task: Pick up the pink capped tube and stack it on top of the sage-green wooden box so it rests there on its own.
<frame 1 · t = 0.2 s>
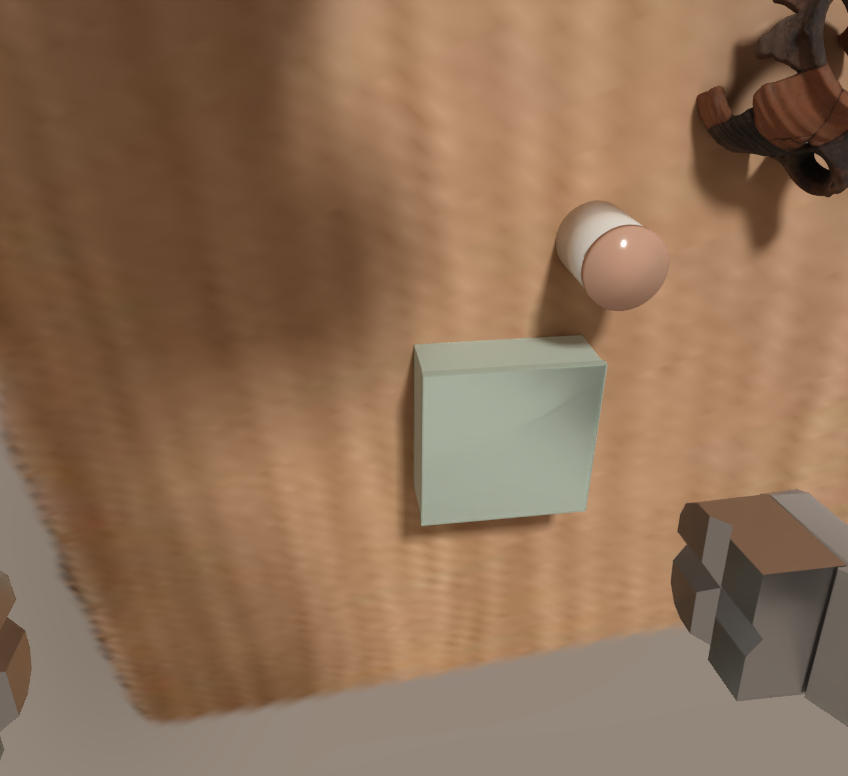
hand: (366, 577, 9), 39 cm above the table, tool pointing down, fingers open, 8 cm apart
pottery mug: (773, 89, 46), on the table
sage box: (493, 410, 55), on the table
pink capped tube: (592, 238, 49), on the table
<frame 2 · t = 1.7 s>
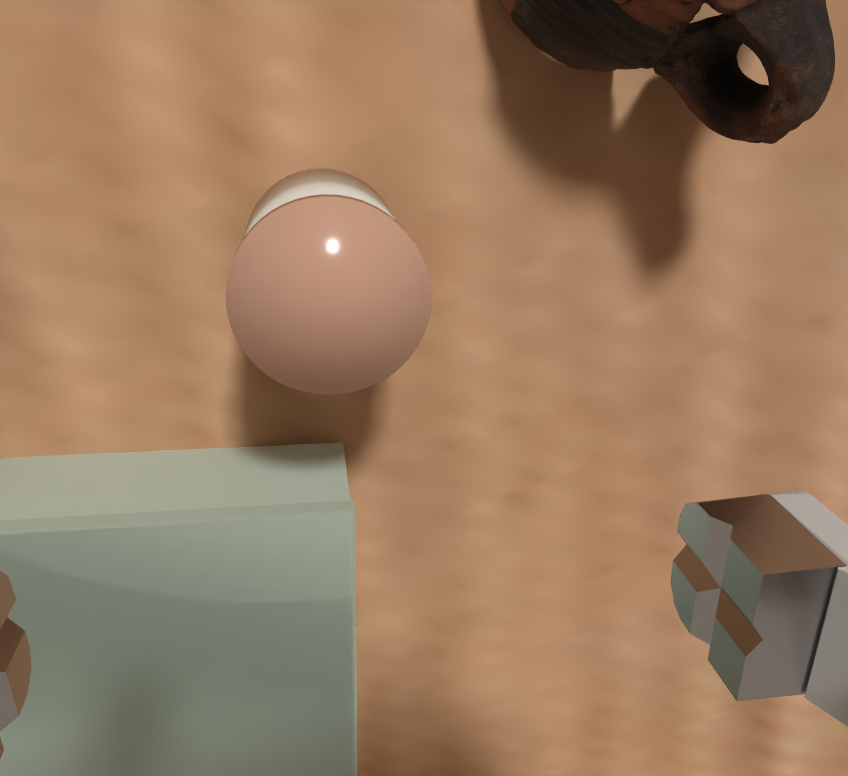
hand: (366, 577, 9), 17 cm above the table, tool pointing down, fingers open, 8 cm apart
sage box: (191, 581, 29), on the table
pink capped tube: (323, 247, 24), on the table
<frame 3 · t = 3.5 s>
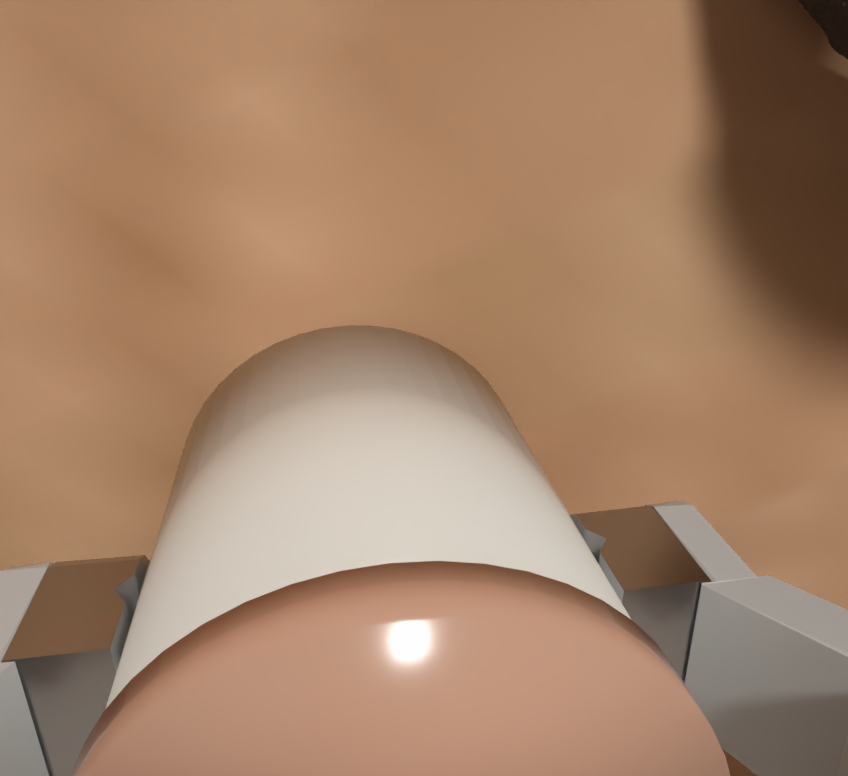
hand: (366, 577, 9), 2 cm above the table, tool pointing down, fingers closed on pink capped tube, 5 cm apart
pink capped tube: (355, 485, 11), on the table, touching gripper
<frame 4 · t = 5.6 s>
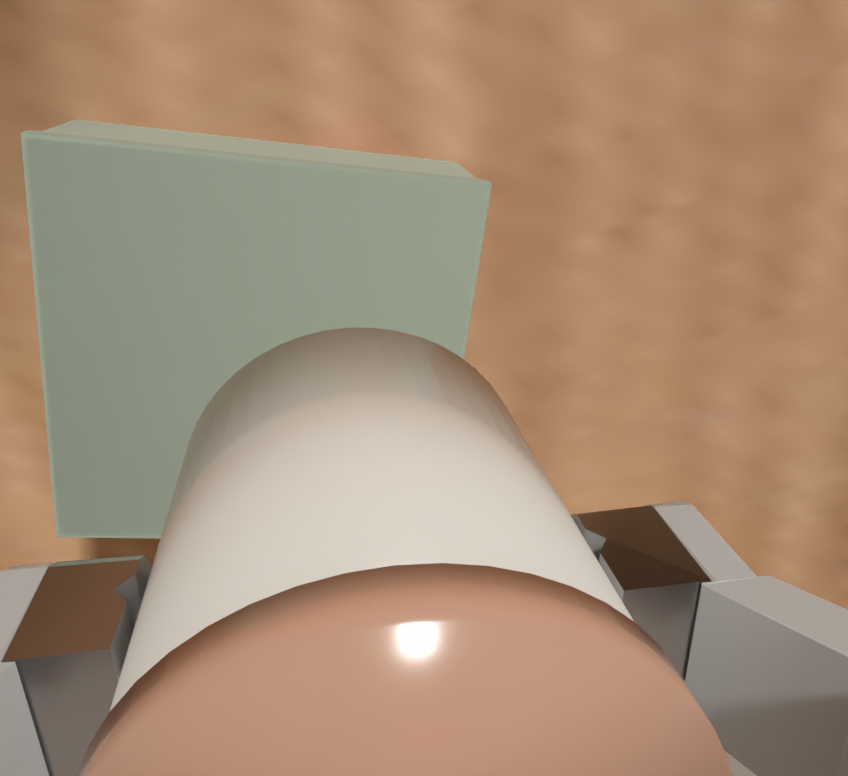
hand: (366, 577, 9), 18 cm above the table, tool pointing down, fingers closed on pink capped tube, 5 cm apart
sage box: (267, 314, 27), on the table
pink capped tube: (357, 486, 11), point 16 cm above the table, touching gripper
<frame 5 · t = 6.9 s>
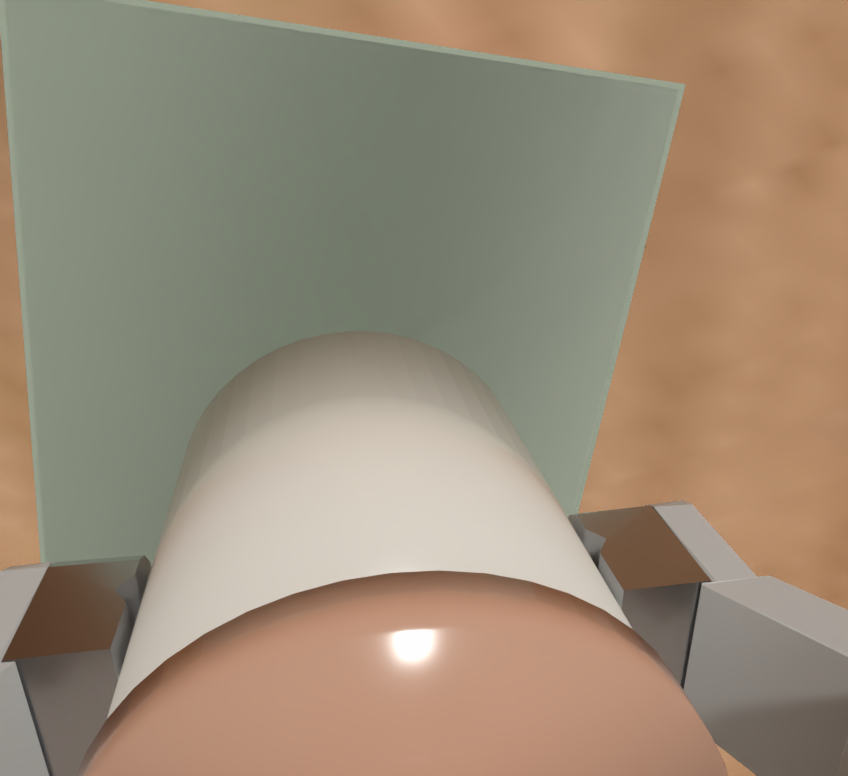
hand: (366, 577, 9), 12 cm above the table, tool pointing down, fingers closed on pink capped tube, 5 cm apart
sage box: (331, 288, 20), on the table
pink capped tube: (356, 490, 11), point 10 cm above the table, touching gripper
when the fingers open (9 cm above the table, at t = 7.9 s): pink capped tube drops 2 cm, resting on sage box.
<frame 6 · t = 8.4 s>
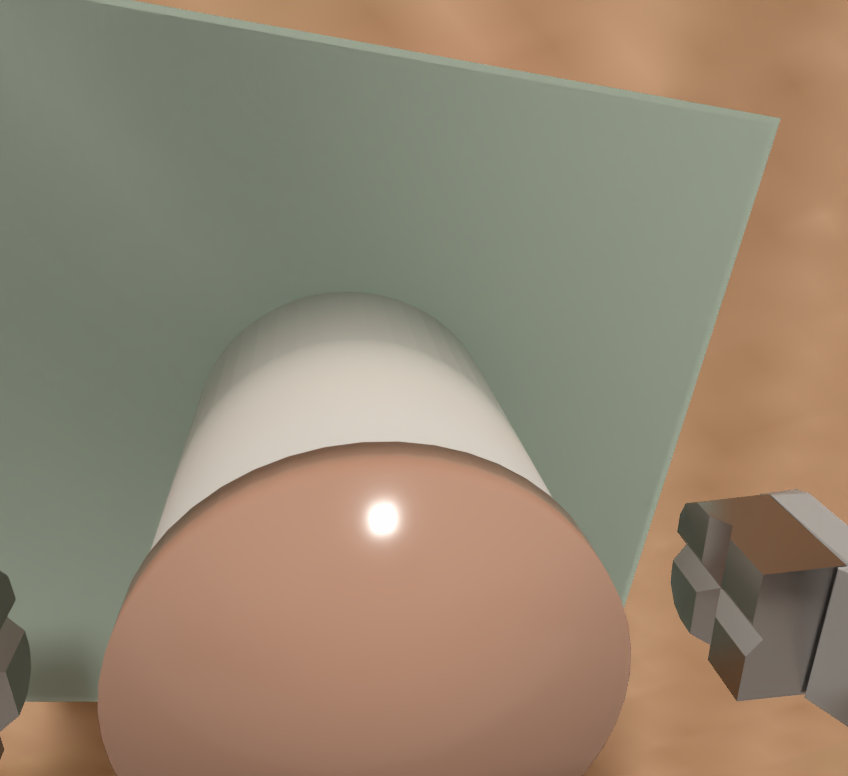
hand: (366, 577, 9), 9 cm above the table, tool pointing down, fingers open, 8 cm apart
sage box: (336, 337, 17), on the table, touching pink capped tube
pink capped tube: (347, 433, 13), point 5 cm above the table, touching sage box
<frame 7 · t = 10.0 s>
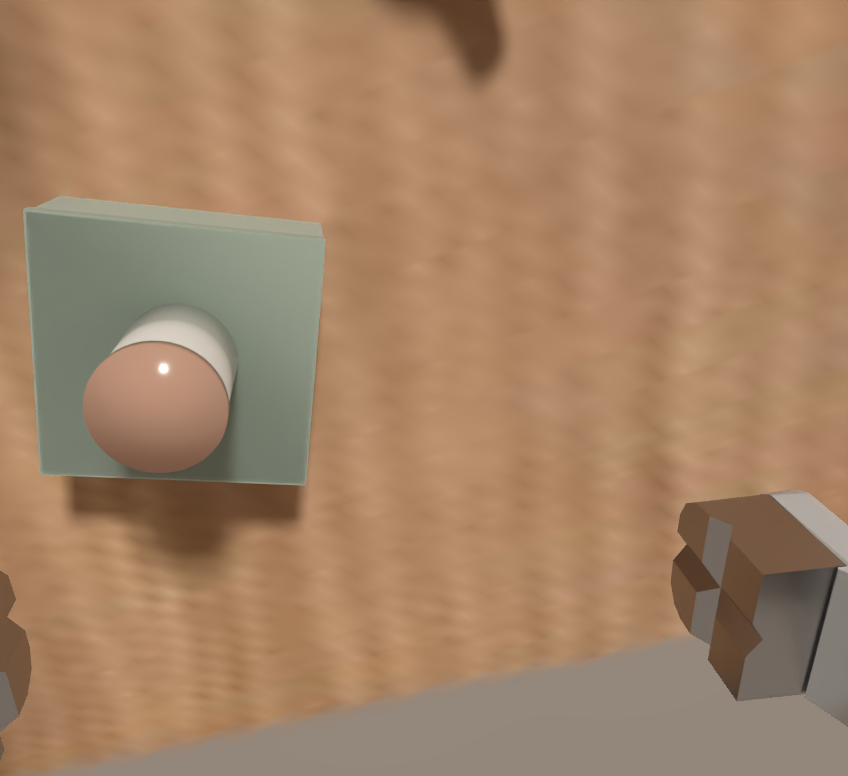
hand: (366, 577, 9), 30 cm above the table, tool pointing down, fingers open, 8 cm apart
sage box: (193, 327, 38), on the table
pink capped tube: (180, 358, 33), point 5 cm above the table
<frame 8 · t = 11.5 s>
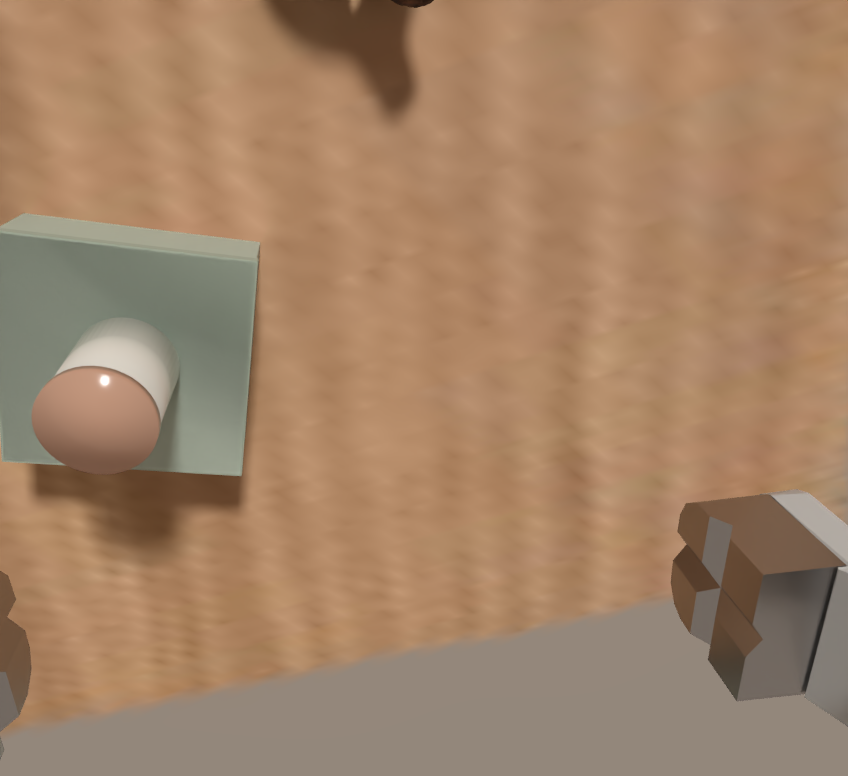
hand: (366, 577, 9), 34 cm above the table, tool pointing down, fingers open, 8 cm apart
sage box: (144, 331, 42), on the table, touching pink capped tube
pink capped tube: (128, 363, 38), point 5 cm above the table, tilted 6°, touching sage box
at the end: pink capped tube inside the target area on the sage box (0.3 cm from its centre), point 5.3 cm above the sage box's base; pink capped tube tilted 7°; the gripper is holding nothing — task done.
